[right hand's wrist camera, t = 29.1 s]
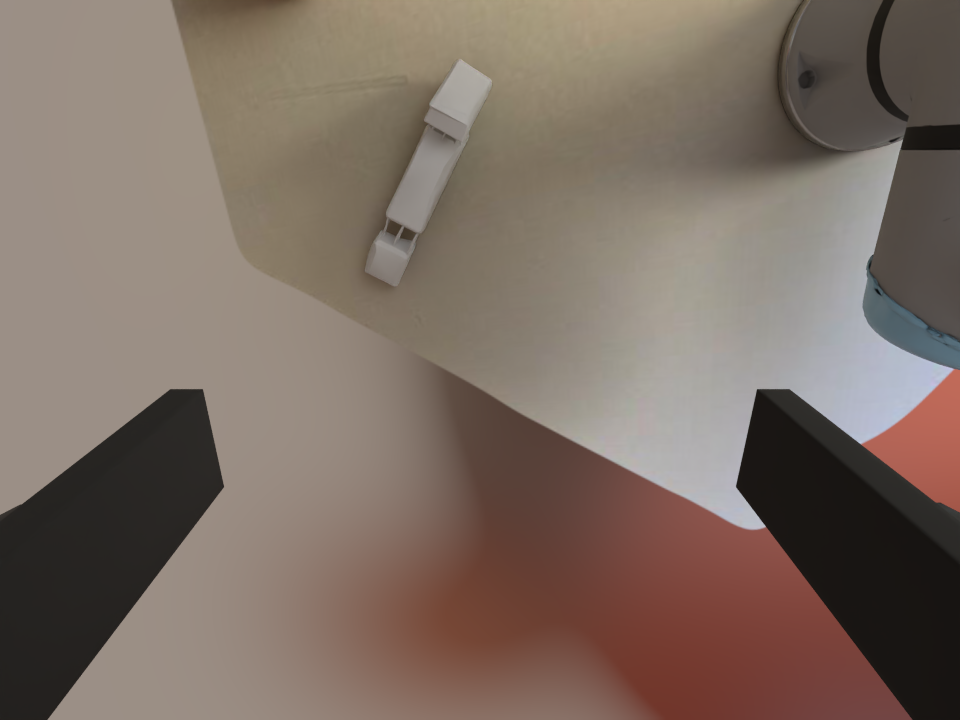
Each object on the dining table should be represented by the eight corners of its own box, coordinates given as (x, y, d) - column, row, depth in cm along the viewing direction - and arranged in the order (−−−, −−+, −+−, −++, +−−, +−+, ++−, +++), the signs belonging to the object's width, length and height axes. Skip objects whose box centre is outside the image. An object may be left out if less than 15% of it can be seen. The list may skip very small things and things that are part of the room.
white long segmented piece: (457, 57, 45) (448, 51, 39) (496, 80, 45) (493, 77, 39) (370, 259, 53) (351, 281, 47) (403, 276, 54) (390, 299, 48)
